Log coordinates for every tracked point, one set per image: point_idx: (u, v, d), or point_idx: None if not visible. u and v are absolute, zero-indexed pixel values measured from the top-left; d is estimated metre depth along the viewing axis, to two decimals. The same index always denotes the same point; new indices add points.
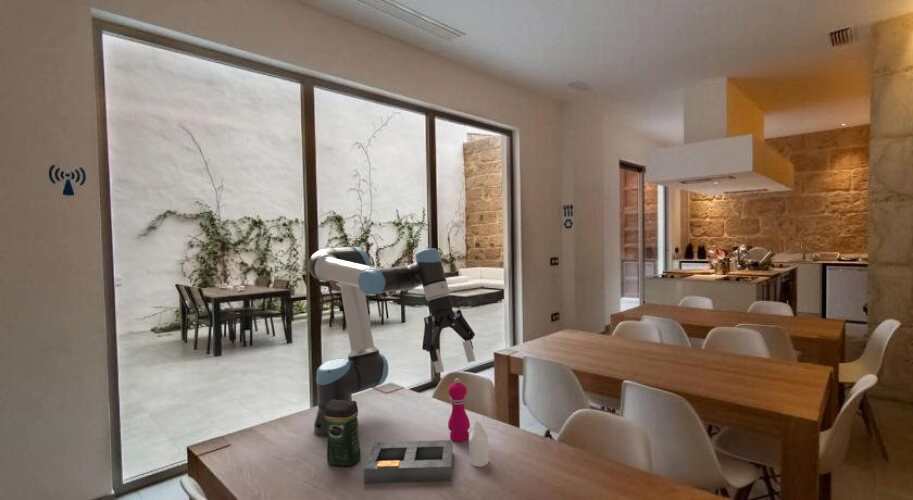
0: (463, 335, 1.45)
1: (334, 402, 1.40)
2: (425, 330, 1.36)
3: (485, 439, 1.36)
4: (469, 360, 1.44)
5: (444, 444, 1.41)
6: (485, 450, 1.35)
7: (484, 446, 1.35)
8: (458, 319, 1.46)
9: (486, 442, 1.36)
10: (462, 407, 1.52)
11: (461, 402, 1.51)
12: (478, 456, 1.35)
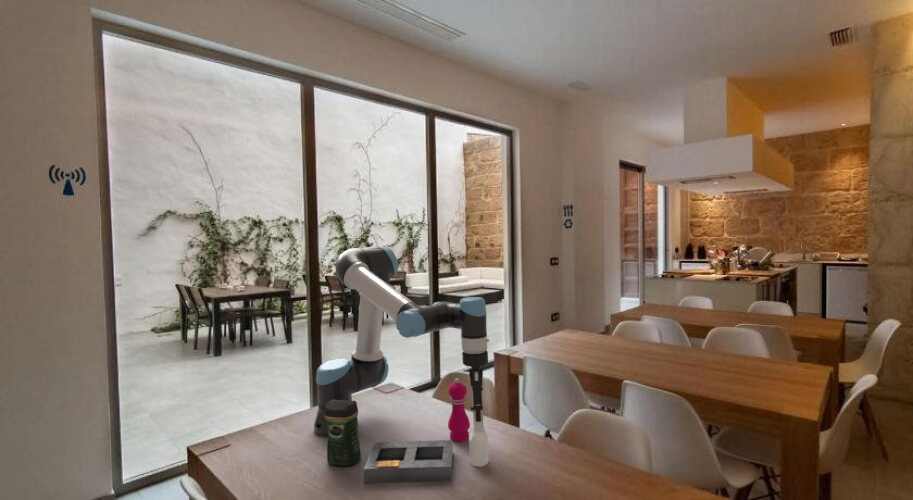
0: None
1: (334, 402, 1.40)
2: (474, 388, 1.29)
3: (485, 439, 1.36)
4: None
5: (444, 444, 1.41)
6: (485, 450, 1.35)
7: (484, 446, 1.35)
8: None
9: (486, 442, 1.36)
10: (462, 407, 1.52)
11: (461, 402, 1.51)
12: (478, 456, 1.35)
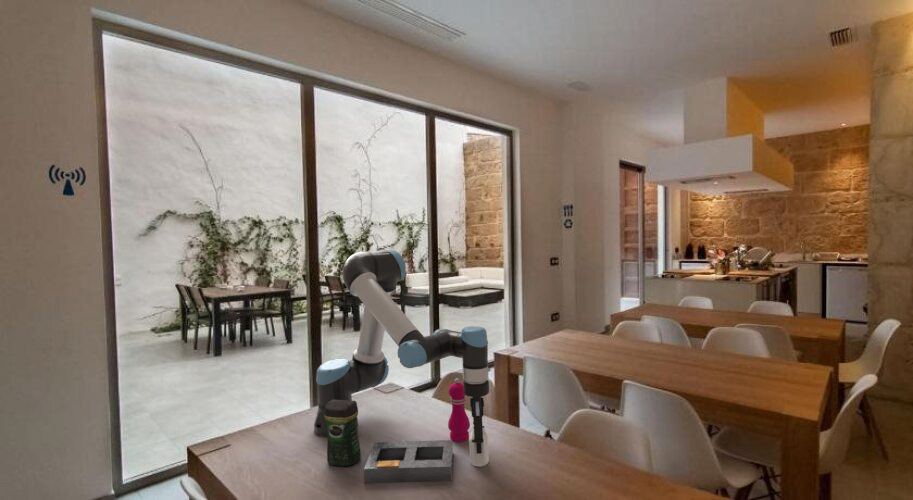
0: None
1: (334, 402, 1.40)
2: (475, 423, 1.31)
3: (485, 439, 1.36)
4: None
5: (444, 444, 1.41)
6: (485, 450, 1.35)
7: (484, 446, 1.35)
8: None
9: (486, 442, 1.36)
10: (462, 407, 1.52)
11: (461, 402, 1.51)
12: None
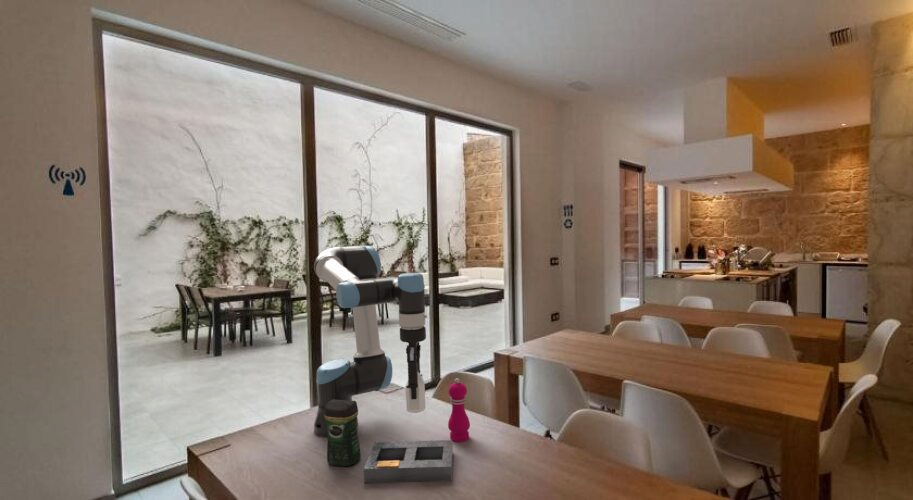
0: None
1: (334, 402, 1.40)
2: (410, 368, 1.29)
3: (421, 386, 1.35)
4: None
5: (444, 444, 1.41)
6: (421, 396, 1.34)
7: (420, 393, 1.34)
8: None
9: (422, 389, 1.35)
10: (462, 407, 1.52)
11: (461, 402, 1.51)
12: None
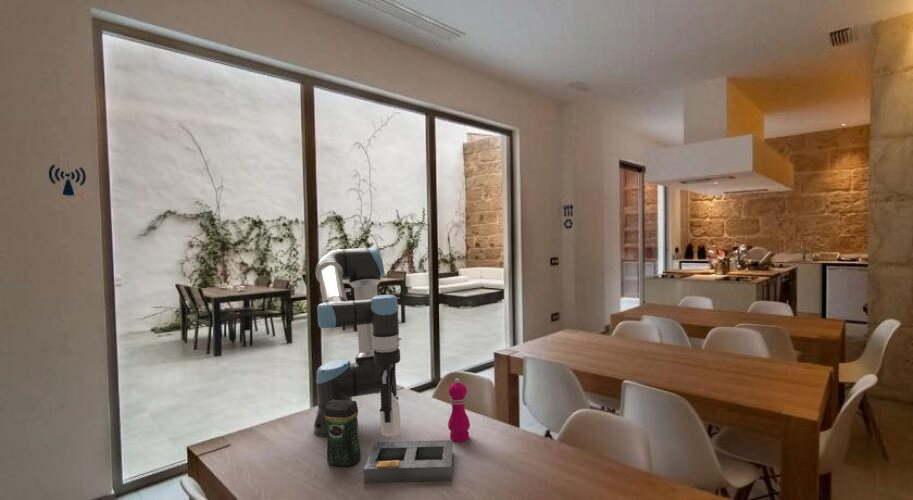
0: (391, 393, 1.38)
1: (334, 402, 1.40)
2: (382, 391, 1.29)
3: (396, 408, 1.34)
4: None
5: (444, 444, 1.41)
6: (395, 419, 1.33)
7: (394, 416, 1.33)
8: None
9: (397, 412, 1.34)
10: (462, 407, 1.52)
11: (461, 402, 1.51)
12: None
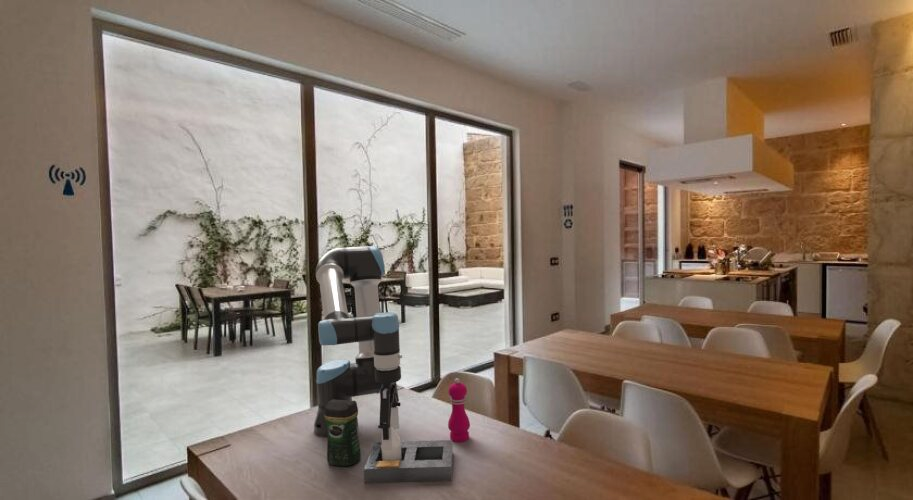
0: (393, 402, 1.41)
1: (334, 402, 1.40)
2: (382, 406, 1.27)
3: (397, 445, 1.35)
4: None
5: (444, 444, 1.41)
6: (396, 456, 1.34)
7: (395, 452, 1.34)
8: None
9: (398, 448, 1.35)
10: (462, 407, 1.52)
11: (461, 402, 1.51)
12: None
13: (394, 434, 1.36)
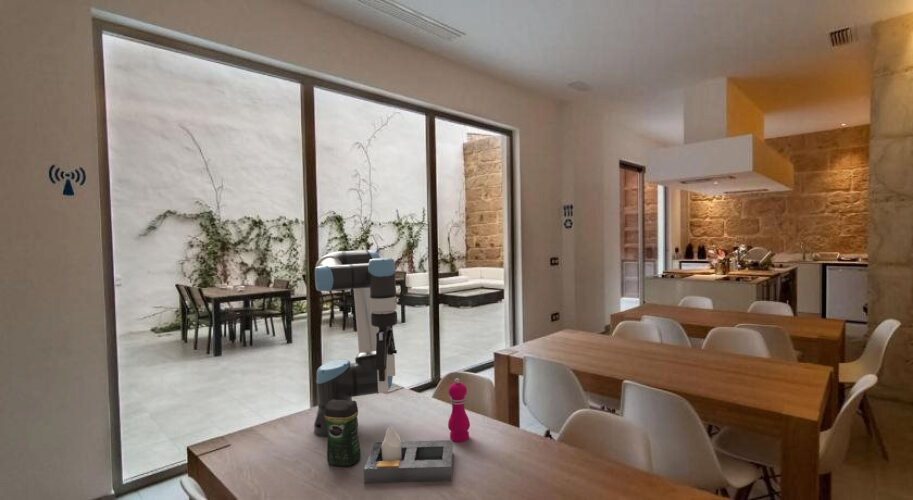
0: (390, 349, 1.41)
1: (334, 402, 1.40)
2: (378, 347, 1.27)
3: (397, 445, 1.35)
4: (389, 374, 1.42)
5: (444, 444, 1.41)
6: (396, 456, 1.34)
7: (395, 452, 1.34)
8: None
9: (398, 448, 1.35)
10: (462, 407, 1.52)
11: (461, 402, 1.51)
12: None
13: (394, 434, 1.36)
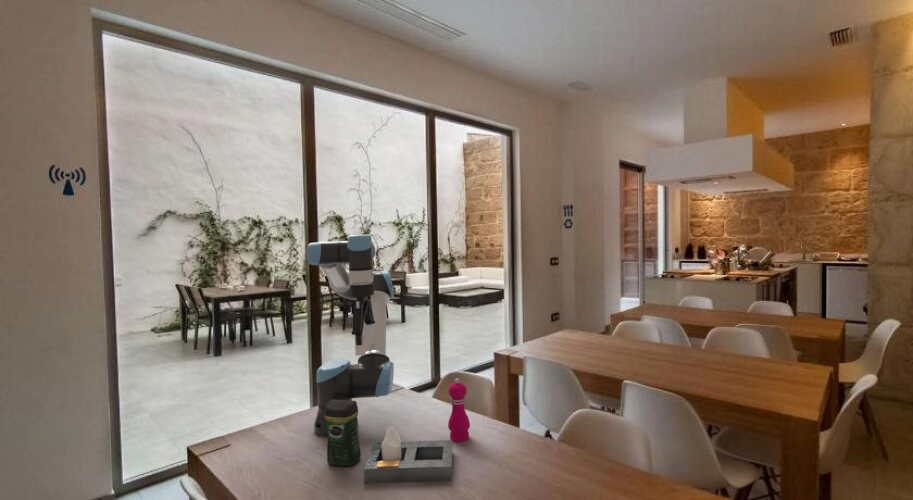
0: (368, 319, 1.54)
1: (334, 402, 1.40)
2: (355, 314, 1.40)
3: (397, 445, 1.35)
4: (367, 342, 1.55)
5: (444, 444, 1.41)
6: (396, 456, 1.34)
7: (395, 452, 1.34)
8: None
9: (398, 448, 1.35)
10: (462, 407, 1.52)
11: (461, 402, 1.51)
12: None
13: (394, 434, 1.36)
